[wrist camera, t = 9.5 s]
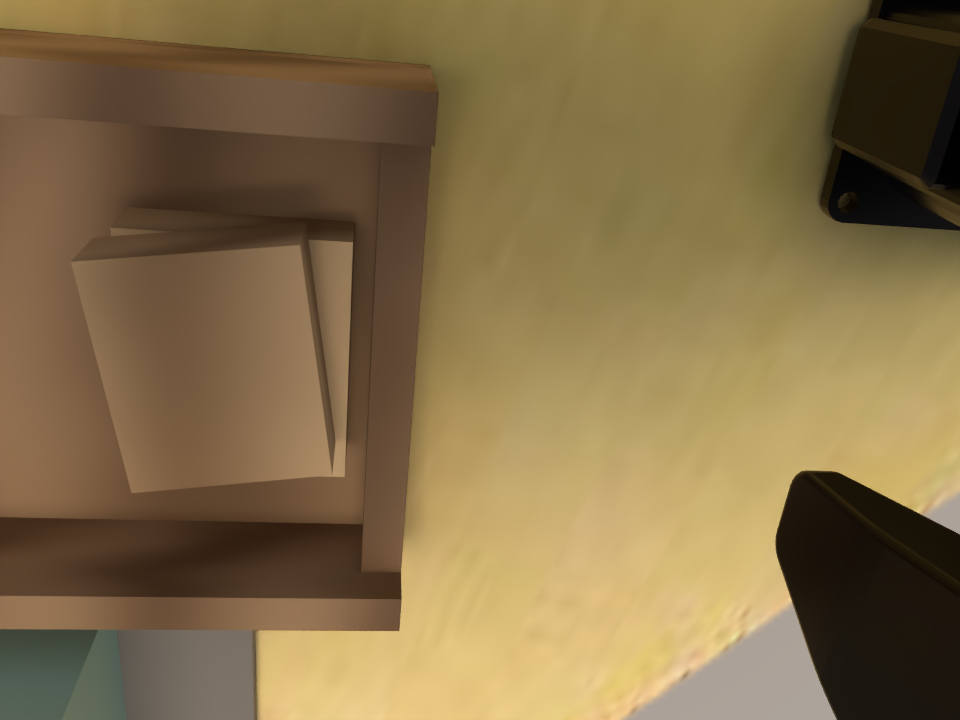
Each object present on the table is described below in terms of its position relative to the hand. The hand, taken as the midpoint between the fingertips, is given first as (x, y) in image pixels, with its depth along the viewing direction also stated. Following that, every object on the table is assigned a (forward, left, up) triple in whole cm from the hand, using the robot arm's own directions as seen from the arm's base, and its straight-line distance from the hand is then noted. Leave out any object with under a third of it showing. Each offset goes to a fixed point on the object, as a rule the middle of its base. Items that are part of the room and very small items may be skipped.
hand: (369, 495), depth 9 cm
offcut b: (+3, +4, -11) cm, 12 cm away
